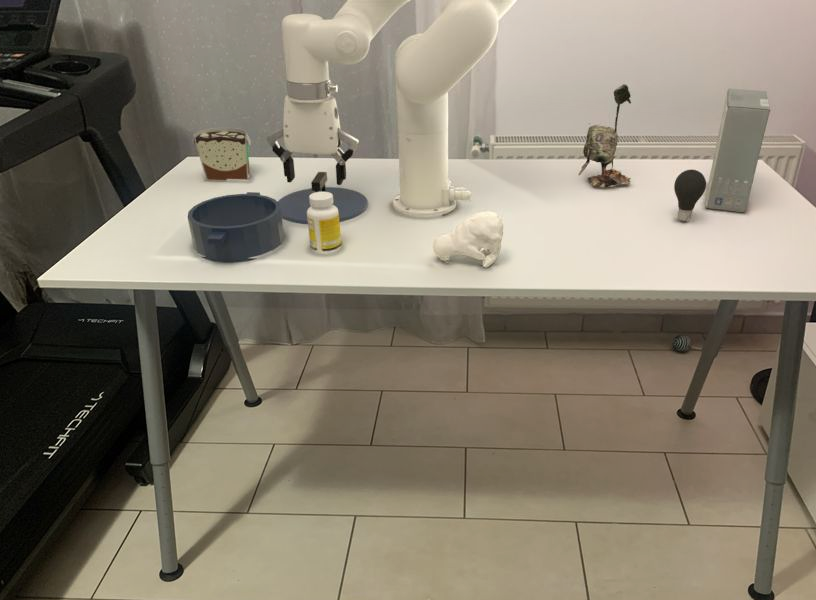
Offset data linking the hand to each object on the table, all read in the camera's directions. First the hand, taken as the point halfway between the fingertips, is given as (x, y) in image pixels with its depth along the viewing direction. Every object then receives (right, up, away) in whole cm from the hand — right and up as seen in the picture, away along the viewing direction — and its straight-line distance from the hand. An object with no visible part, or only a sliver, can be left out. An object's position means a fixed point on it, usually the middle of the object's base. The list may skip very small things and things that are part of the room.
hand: (315, 181), depth 139 cm
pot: (-12, -13, -10) cm, 21 cm away
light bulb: (+70, -8, -2) cm, 71 cm away
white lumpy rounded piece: (+29, -18, -16) cm, 38 cm away
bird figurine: (+59, +3, +15) cm, 61 cm away
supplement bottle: (+4, -15, -12) cm, 20 cm away
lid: (+1, -4, +3) cm, 5 cm away
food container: (-22, +5, +19) cm, 29 cm away
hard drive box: (+82, -2, +8) cm, 83 cm away
